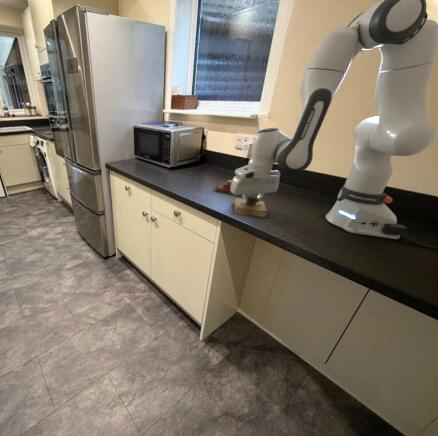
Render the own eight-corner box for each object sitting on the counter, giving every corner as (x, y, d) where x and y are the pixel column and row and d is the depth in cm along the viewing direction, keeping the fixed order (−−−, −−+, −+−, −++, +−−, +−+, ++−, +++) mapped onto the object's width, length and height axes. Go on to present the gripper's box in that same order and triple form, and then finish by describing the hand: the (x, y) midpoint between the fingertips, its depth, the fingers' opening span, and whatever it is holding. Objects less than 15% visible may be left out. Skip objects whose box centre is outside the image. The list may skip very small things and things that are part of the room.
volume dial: (251, 201, 103) (253, 193, 101) (257, 205, 99) (259, 197, 98) (243, 202, 102) (245, 194, 100) (249, 206, 98) (251, 198, 97)
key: (235, 183, 122) (236, 180, 121) (234, 186, 119) (234, 182, 118) (228, 182, 123) (229, 179, 122) (227, 184, 120) (227, 181, 119)
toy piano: (243, 189, 124) (245, 182, 122) (240, 196, 116) (241, 188, 114) (220, 185, 129) (221, 179, 127) (216, 191, 121) (217, 184, 119)
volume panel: (262, 207, 105) (263, 201, 103) (265, 217, 96) (267, 210, 95) (234, 204, 108) (235, 197, 106) (234, 213, 99) (236, 206, 98)
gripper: (276, 167, 98) (267, 198, 105) (231, 170, 94) (225, 201, 101) (286, 172, 93) (277, 203, 99) (240, 174, 89) (233, 207, 96)
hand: (250, 202), depth 100 cm, fingers closed on volume dial, 4 cm apart
